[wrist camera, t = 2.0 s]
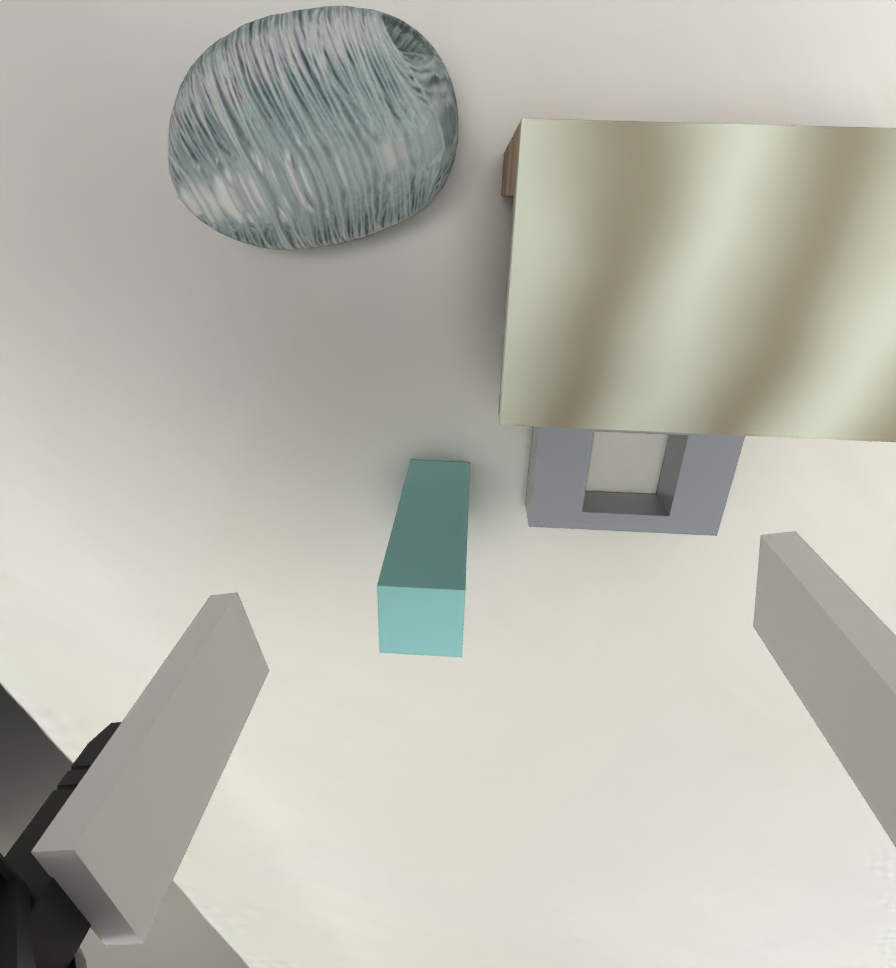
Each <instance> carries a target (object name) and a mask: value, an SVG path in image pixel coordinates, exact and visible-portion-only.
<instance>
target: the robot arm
mask: <svg viewBox="0 0 896 968" xmlns="http://www.w3.org/2000/svg"><path fill="white" fill-rule="evenodd" d="M753 627H754V628H755V630H756V631H757V633H758V635H759V636H760V638H761V639H762V641H763V642H764V644H765V645H766V647H767V649H768V650H769V652H770V653H771V655H772V656H773V658H774V659H775V661H776V662H777V664H778V666H779V667H780V669H781V670H782V672H783V673H784V675H785V676H786V678H787V680H788V681H789V683H790V684H791V686H792V687H793V689H794V690H795V692H796V693H797V695H798V697H799V698H800V700H801V701H802V703H803V704H804V706H805V707H806V709H807V711H808V712H809V714H810V715H811V717H812V718H813V720H814V721H815V723H816V724H817V726H818V728H819V729H820V731H821V732H822V734H823V735H824V737H825V738H826V740H827V742H828V743H829V745H830V746H831V748H832V749H833V751H834V752H835V754H836V755H837V757H838V759H839V760H840V762H841V763H842V765H843V766H844V768H845V769H846V771H847V772H848V774H849V776H850V777H851V779H852V780H853V782H854V783H855V785H856V786H857V788H858V790H859V791H860V793H861V794H862V796H863V797H864V799H865V800H866V802H867V803H868V805H869V807H870V808H871V810H872V811H873V813H874V814H875V816H876V817H877V819H878V821H879V822H880V824H881V825H882V827H883V828H884V830H885V831H886V833H887V834H888V836H889V838H890V839H891V841H892V842H893V844H894V845H895V847H896V635H895V634H894V633H893V632H892V631H891V630H890V629H889V628H888V627H887V626H886V625H885V624H884V623H883V622H882V621H881V620H880V619H879V618H878V617H877V616H876V615H875V613H874V612H873V611H872V610H871V609H870V608H869V607H868V606H867V605H866V604H865V603H864V602H863V601H862V600H861V599H860V598H859V597H858V596H857V595H856V594H855V593H854V592H853V591H852V590H851V589H850V588H849V587H848V585H847V584H846V583H845V582H844V581H843V580H842V579H841V578H840V577H839V576H838V575H837V574H836V573H835V572H834V571H833V570H832V569H831V568H830V567H829V566H828V565H827V564H826V563H825V562H824V561H823V560H822V559H821V557H820V556H819V555H818V554H817V553H816V552H815V551H814V550H813V549H812V548H811V547H810V546H809V545H808V544H807V543H806V542H805V541H804V540H803V539H802V538H801V537H800V536H799V535H798V534H797V533H796V532H795V531H793V532H784V533H775V534H766V535H761V538H760V550H759V562H758V575H757V587H756V599H755V612H754V624H753ZM268 672H269V669H268V666H267V664H266V661H265V659H264V656H263V654H262V651H261V649H260V647H259V644H258V642H257V639H256V637H255V634H254V632H253V629H252V627H251V624H250V622H249V619H248V617H247V615H246V612H245V610H244V607H243V605H242V602H241V600H240V597H239V595H238V593H229V594H220V595H211V596H210V597H209V598H208V600H207V601H206V603H205V604H204V606H203V607H202V608H201V610H200V611H199V613H198V614H197V616H196V617H195V618H194V620H193V621H192V623H191V624H190V626H189V627H188V628H187V630H186V631H185V633H184V634H183V636H182V637H181V638H180V640H179V641H178V643H177V644H176V646H175V647H174V648H173V650H172V651H171V653H170V654H169V656H168V657H167V658H166V660H165V661H164V663H163V664H162V666H161V667H160V668H159V670H158V671H157V673H156V674H155V676H154V677H153V678H152V680H151V681H150V683H149V684H148V685H147V687H146V688H145V690H144V691H143V693H142V694H141V695H140V697H139V698H138V700H137V701H136V703H135V704H134V705H133V707H132V708H131V710H130V711H129V713H128V714H127V715H126V717H125V718H124V720H123V721H122V722H117V723H111V724H110V725H108V726H107V727H106V728H105V729H104V730H103V731H102V732H101V733H99V734H98V735H97V736H96V737H95V738H94V739H93V740H92V741H90V742H89V743H88V744H87V746H86V747H85V749H84V750H83V751H82V753H81V754H80V755H79V757H78V758H77V759H76V761H75V762H74V763H73V765H72V766H71V767H72V769H71V771H68V772H67V773H66V774H65V776H64V777H63V778H62V780H61V781H60V783H59V784H58V785H57V786H58V788H57V790H54V791H53V792H52V794H51V795H50V796H49V797H48V799H47V800H46V802H45V803H44V804H43V806H42V807H41V808H40V810H39V811H38V812H37V814H36V815H35V816H34V818H33V819H32V821H31V822H30V823H29V825H28V826H27V828H26V829H25V830H24V832H23V833H22V834H21V836H20V837H19V838H18V840H17V841H16V842H15V844H14V845H13V846H12V848H11V849H10V851H9V852H8V853H7V855H6V856H5V857H3V856H2V854H1V853H0V968H86V960H85V957H84V955H83V953H82V950H81V949H80V948H79V947H80V944H81V943H82V941H83V939H84V937H85V935H86V934H87V932H88V930H89V928H90V927H91V928H92V929H93V931H94V932H95V933H96V934H97V936H98V937H99V938H100V940H101V941H102V942H103V943H104V945H114V944H143V943H144V941H145V939H146V937H147V935H148V933H149V930H150V928H151V926H152V924H153V922H154V920H155V917H156V915H157V913H158V911H159V909H160V906H161V904H162V902H163V900H164V898H165V896H166V894H167V891H168V889H169V887H170V884H171V883H172V881H173V878H174V876H175V874H176V872H177V870H178V868H179V865H180V863H181V861H182V859H183V857H184V855H185V852H186V850H187V848H188V846H189V844H190V842H191V839H192V837H193V835H194V833H195V831H196V829H197V826H198V824H199V822H200V820H201V818H202V815H203V813H204V811H205V809H206V807H207V805H208V802H209V800H210V798H211V796H212V794H213V792H214V789H215V787H216V785H217V783H218V781H219V779H220V776H221V774H222V772H223V770H224V768H225V766H226V763H227V761H228V759H229V757H230V755H231V753H232V750H233V748H234V746H235V744H236V742H237V740H238V737H239V735H240V733H241V731H242V729H243V727H244V724H245V722H246V720H247V718H248V716H249V713H250V711H251V709H252V707H253V705H254V703H255V700H256V698H257V696H258V694H259V692H260V690H261V687H262V685H263V683H264V681H265V679H266V677H267V674H268Z"/></svg>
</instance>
